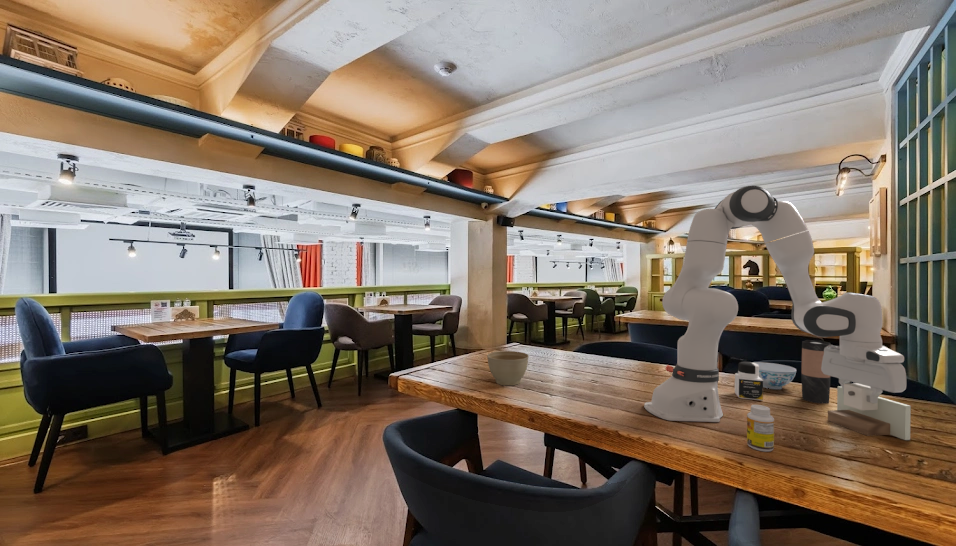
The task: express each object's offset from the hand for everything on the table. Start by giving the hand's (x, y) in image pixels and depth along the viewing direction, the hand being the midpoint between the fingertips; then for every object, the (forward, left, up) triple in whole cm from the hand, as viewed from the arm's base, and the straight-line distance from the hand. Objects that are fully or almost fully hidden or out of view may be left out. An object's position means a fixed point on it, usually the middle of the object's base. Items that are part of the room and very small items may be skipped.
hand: (859, 398), depth 115 cm
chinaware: (+8, +39, -8) cm, 41 cm away
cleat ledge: (-1, 0, -8) cm, 8 cm away
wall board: (+3, 0, -8) cm, 9 cm away
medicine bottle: (-10, +29, -8) cm, 32 cm away
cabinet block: (0, 0, -2) cm, 2 cm away
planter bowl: (-91, +55, -8) cm, 107 cm away
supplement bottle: (-39, -9, -8) cm, 41 cm away
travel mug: (+10, +23, -8) cm, 26 cm away
